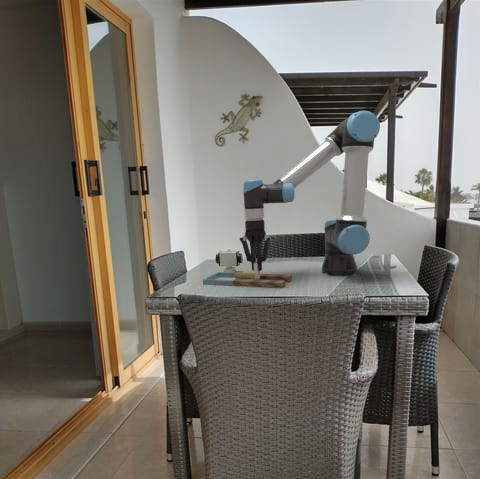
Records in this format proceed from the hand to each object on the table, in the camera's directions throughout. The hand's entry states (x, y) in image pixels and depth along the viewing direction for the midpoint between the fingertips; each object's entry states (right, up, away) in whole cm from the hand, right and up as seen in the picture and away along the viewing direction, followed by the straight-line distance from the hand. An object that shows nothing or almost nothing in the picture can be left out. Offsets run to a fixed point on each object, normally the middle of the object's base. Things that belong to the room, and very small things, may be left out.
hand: (257, 278), depth 142 cm
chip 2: (-2, -2, +1) cm, 3 cm away
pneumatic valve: (-11, -1, +21) cm, 24 cm away
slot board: (+2, -3, 0) cm, 3 cm away
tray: (-13, -3, +6) cm, 15 cm away
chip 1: (-6, -2, +3) cm, 7 cm away
